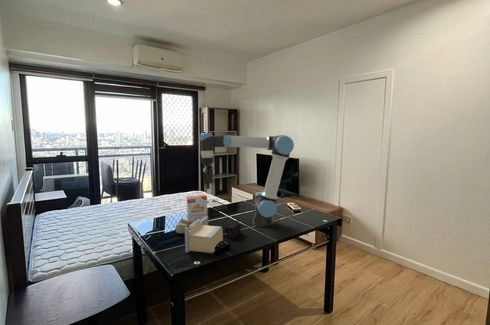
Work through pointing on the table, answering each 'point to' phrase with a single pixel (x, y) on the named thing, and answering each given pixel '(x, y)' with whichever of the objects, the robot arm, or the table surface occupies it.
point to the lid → (204, 231)
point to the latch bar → (194, 223)
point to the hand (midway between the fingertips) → (209, 193)
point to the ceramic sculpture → (182, 226)
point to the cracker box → (196, 207)
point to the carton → (202, 240)
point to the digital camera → (233, 230)
